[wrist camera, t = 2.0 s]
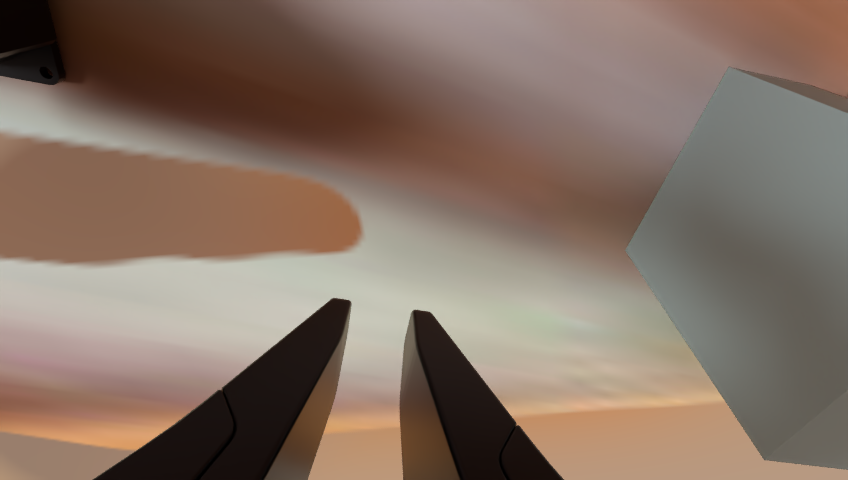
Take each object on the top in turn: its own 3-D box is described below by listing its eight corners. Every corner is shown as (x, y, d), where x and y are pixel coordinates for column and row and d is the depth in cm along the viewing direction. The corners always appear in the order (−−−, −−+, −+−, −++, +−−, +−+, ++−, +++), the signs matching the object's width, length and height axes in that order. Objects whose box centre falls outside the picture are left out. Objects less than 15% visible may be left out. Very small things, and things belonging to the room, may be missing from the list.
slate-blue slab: (625, 250, 24) (764, 459, 14) (728, 66, 19) (1071, 201, 9) (689, 261, 25) (868, 472, 15) (809, 85, 19) (1225, 232, 9)
